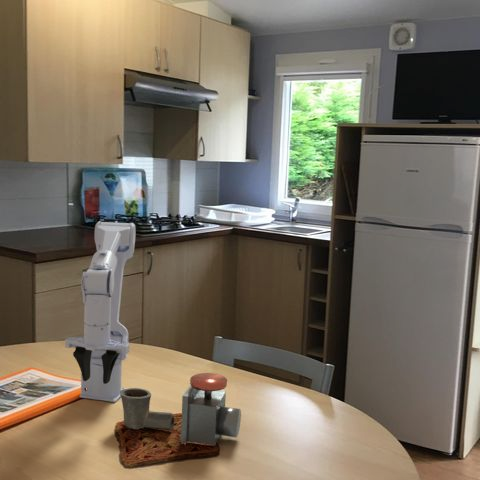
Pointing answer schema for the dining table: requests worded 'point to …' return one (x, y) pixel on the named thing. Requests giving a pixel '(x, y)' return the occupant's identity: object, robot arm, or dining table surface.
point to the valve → (207, 410)
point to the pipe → (143, 411)
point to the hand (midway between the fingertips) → (96, 380)
